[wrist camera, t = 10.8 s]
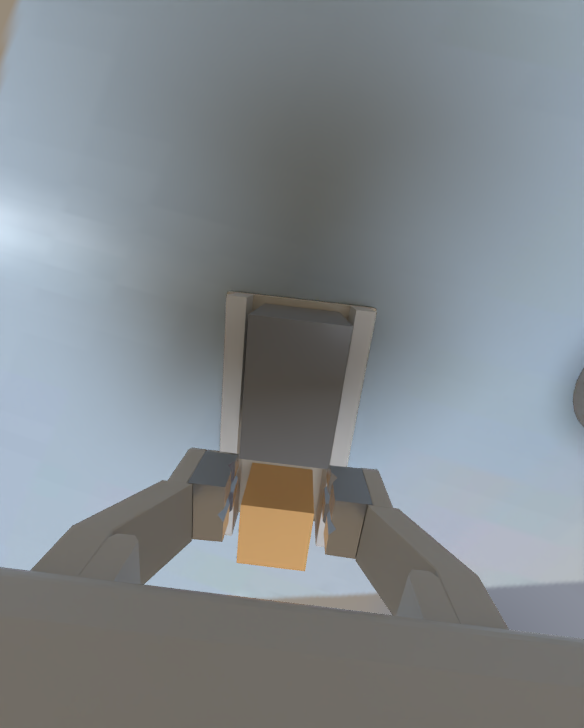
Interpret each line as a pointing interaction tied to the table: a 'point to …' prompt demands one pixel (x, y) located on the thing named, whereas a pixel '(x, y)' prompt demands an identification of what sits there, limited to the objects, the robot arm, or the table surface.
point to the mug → (579, 398)
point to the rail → (273, 480)
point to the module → (293, 384)
